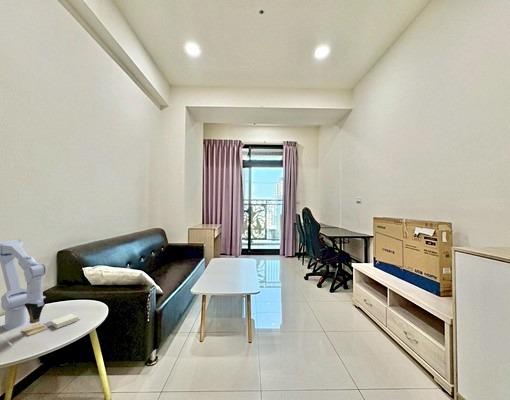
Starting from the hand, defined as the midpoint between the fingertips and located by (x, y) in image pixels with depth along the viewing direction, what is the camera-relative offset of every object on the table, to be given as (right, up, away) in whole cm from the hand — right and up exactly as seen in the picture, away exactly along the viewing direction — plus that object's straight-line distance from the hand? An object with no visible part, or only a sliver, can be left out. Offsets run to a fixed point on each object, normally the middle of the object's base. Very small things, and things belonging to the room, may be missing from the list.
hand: (34, 318), depth 117 cm
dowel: (0, -2, 0) cm, 2 cm away
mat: (+7, -6, +8) cm, 12 cm away
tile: (+6, -5, +8) cm, 12 cm away
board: (0, -6, 0) cm, 6 cm away
